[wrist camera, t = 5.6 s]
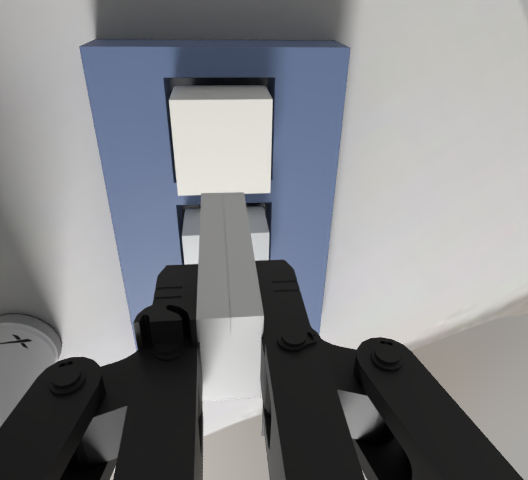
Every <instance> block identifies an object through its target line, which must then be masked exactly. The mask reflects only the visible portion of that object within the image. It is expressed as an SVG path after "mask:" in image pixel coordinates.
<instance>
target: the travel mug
mask: <svg viewBox="0 0 528 480" xmlns="http://www.w3.org/2000/svg"><path fill="white" fill-rule="evenodd" d="M61 348H62V345H61V341H60V339H59V337H58V335H57V333H56V332H55V331H54V330H53V329H52V328H51V327H50V326H49V325H48V324H46V323H44V322H43V321H41V320H39V319H36V318H34V317H30V316H27V315H20V314H8V315H1V316H0V427H1V426H2V424H3V423H4V421H5V420H6V419H7V417H8V416H9V415H10V413H11V412H12V411H13V409H14V408H15V407H16V405H17V404H18V403H19V401H20V400H21V399H22V397H23V396H24V395H25V393H26V392H27V390H28V389H29V388H30V386H31V385H32V384H33V382H34V381H35V380H36V378H37V377H38V376H39V375H40V374H41V373H42V372H43V371H44V370H45V369H46V368H47V367H49V366H51V365H53V364H54V363H56V362H57V361H58V359H59V356H60V354H61Z"/></svg>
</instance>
